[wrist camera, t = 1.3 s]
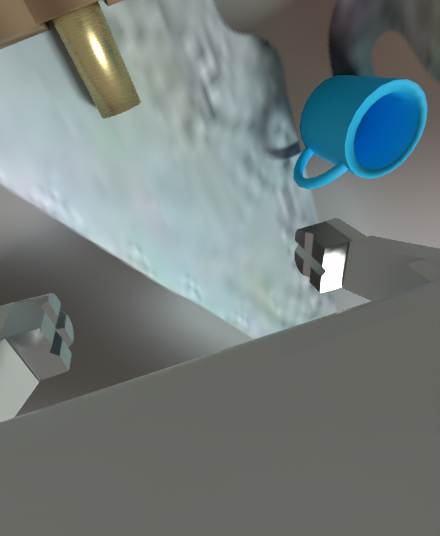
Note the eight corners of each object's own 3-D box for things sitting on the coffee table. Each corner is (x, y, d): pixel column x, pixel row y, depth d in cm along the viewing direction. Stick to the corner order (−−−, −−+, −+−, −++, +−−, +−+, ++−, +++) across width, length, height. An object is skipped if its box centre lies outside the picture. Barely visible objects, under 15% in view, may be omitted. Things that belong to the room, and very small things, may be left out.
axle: (36, -143, 19) (21, -179, 16) (139, 99, 27) (142, 104, 24) (-19, -122, 19) (-43, -155, 16) (102, 114, 27) (101, 121, 24)
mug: (345, 54, 30) (408, 53, 23) (378, 115, 34) (438, 128, 28) (260, 150, 33) (295, 173, 26) (300, 195, 37) (339, 223, 31)
